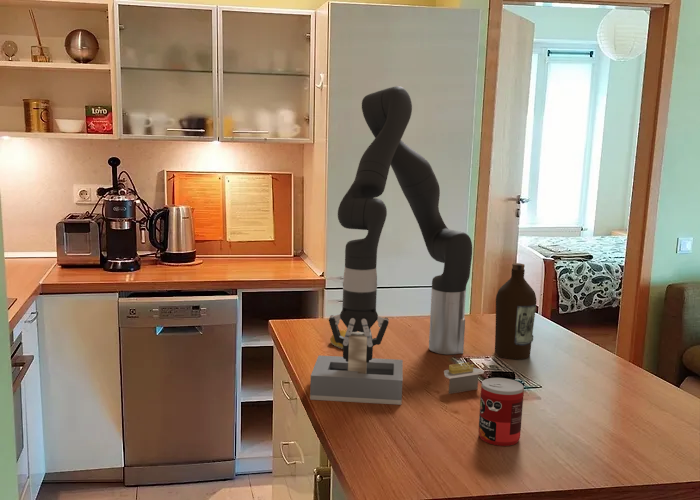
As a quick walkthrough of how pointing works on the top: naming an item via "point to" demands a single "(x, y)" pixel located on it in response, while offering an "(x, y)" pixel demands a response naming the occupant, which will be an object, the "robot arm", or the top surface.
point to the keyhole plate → (357, 381)
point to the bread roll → (334, 339)
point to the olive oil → (515, 316)
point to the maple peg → (357, 352)
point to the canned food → (500, 411)
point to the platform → (462, 377)
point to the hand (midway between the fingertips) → (357, 360)
